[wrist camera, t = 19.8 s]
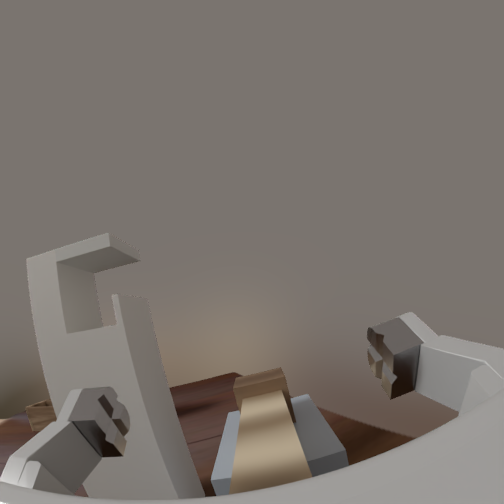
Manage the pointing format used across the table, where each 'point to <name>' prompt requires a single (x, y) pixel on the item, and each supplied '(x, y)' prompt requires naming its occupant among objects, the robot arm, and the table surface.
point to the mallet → (266, 435)
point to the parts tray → (41, 414)
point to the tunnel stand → (110, 368)
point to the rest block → (310, 436)
